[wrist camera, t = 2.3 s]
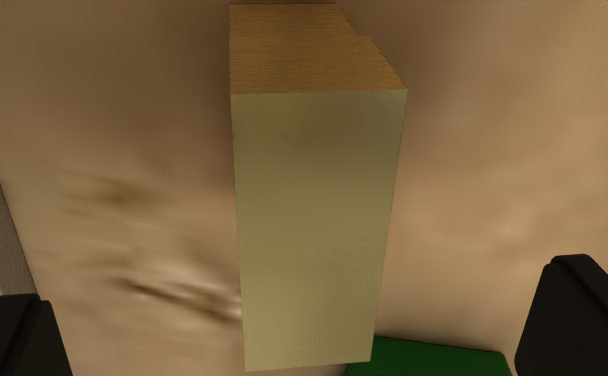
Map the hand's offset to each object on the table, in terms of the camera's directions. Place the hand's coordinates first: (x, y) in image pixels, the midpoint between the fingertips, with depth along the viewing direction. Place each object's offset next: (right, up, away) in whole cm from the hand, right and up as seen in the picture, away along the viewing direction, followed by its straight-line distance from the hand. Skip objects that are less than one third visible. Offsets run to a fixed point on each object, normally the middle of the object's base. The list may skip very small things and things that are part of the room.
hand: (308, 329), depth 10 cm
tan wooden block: (-1, +5, +6) cm, 8 cm away
